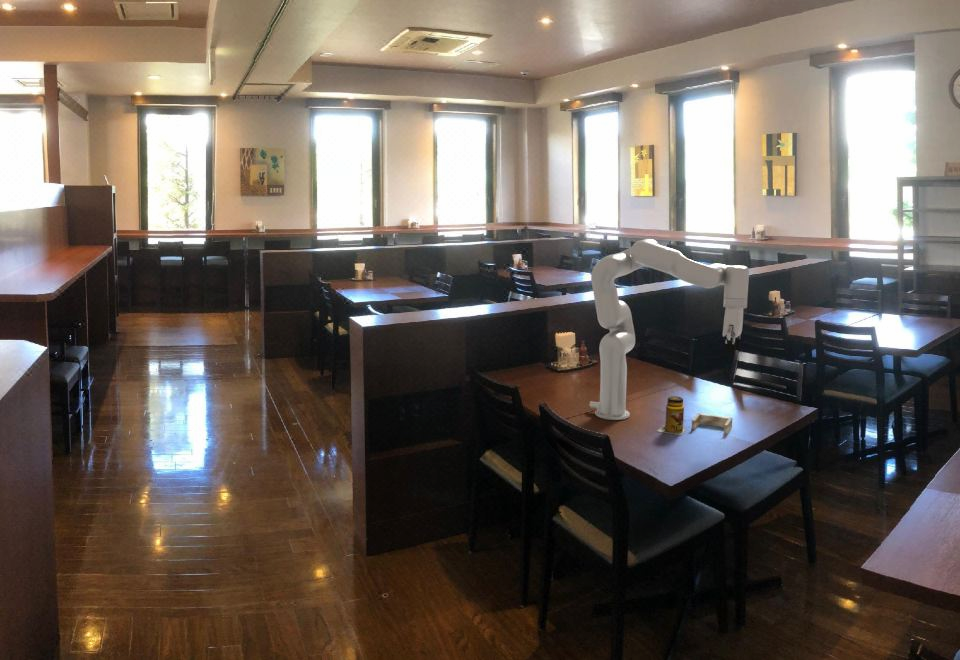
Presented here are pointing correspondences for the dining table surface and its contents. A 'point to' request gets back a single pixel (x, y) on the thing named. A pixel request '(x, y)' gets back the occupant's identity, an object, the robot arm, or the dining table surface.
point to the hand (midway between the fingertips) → (732, 352)
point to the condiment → (674, 416)
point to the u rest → (712, 421)
